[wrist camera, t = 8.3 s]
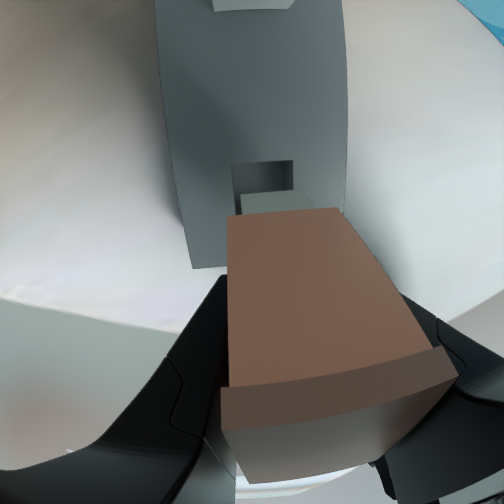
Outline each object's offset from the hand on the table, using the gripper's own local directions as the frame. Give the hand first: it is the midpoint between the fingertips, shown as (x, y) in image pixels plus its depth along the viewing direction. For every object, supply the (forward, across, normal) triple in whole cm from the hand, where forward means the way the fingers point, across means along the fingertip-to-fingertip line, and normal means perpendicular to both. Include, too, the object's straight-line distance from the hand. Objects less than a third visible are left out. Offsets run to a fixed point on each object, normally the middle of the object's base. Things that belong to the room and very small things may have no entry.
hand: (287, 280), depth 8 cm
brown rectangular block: (+4, 0, 0) cm, 4 cm away
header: (+9, 0, -6) cm, 10 cm away
